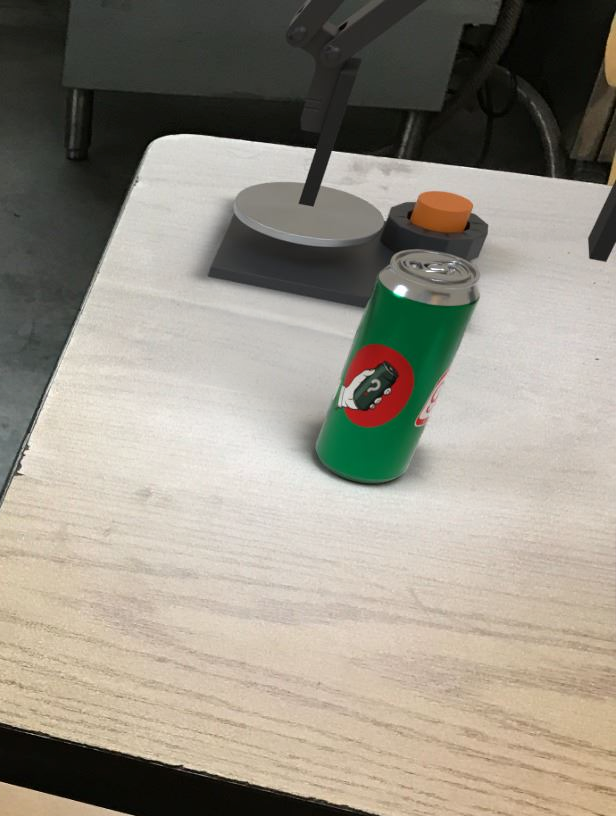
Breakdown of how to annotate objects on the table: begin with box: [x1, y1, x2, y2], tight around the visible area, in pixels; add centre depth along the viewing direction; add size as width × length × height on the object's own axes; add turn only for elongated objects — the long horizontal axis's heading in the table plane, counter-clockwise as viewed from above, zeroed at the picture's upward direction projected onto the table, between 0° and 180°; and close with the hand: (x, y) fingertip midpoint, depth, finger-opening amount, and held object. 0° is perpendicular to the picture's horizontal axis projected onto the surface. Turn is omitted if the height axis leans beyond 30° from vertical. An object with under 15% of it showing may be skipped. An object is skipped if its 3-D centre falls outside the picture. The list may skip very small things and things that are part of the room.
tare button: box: [410, 190, 474, 233], centre depth 95 cm, size 4×4×2 cm
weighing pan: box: [232, 181, 385, 247], centre depth 95 cm, size 10×10×1 cm
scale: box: [207, 201, 489, 309], centre depth 96 cm, size 17×14×4 cm
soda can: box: [314, 249, 481, 485], centre depth 74 cm, size 5×5×12 cm
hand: (448, 223), depth 69 cm, fingers open, 13 cm apart
